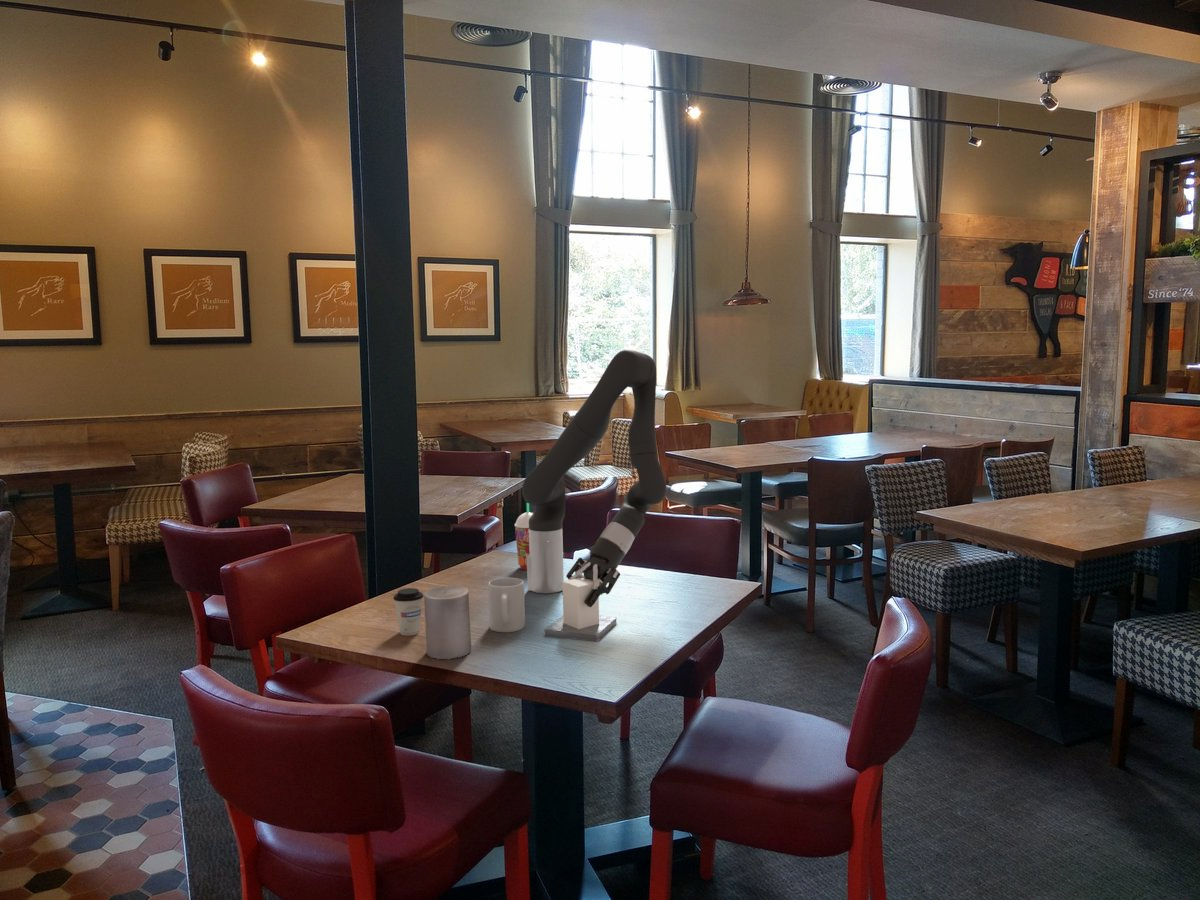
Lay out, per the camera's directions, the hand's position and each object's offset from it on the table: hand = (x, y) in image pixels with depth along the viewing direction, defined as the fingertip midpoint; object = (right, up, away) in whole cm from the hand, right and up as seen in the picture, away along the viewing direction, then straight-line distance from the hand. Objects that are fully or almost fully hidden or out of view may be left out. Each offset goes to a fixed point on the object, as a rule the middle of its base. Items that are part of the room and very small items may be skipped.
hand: (575, 601), depth 196 cm
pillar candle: (-28, -9, -12) cm, 31 cm away
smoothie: (-16, -1, +60) cm, 62 cm away
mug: (-16, -7, +3) cm, 18 cm away
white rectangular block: (+1, -6, +2) cm, 6 cm away
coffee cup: (-39, -8, +2) cm, 40 cm away
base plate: (+1, -7, +2) cm, 7 cm away
